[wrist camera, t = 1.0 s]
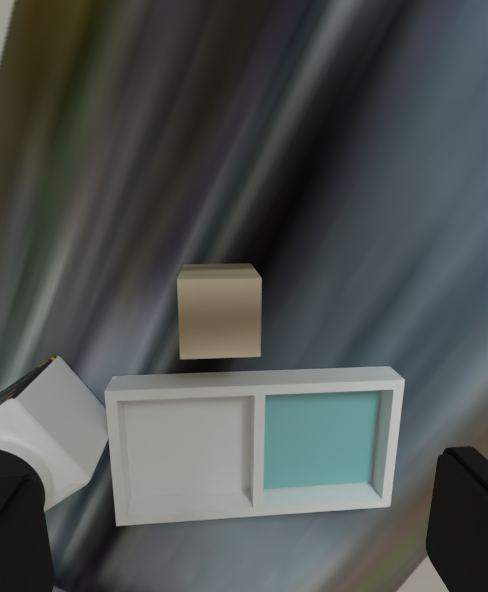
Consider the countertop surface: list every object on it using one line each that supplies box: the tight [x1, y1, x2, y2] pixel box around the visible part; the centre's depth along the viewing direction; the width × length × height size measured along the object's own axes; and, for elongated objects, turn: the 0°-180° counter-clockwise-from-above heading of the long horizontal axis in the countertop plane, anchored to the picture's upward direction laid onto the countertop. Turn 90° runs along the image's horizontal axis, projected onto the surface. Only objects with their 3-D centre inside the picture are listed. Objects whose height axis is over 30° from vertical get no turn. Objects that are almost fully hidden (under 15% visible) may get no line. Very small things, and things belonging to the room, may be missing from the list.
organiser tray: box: [104, 366, 405, 526], centre depth 30 cm, size 12×22×2 cm, turn 90°
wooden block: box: [177, 264, 262, 359], centre depth 25 cm, size 5×5×6 cm
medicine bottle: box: [0, 356, 108, 512], centre depth 23 cm, size 7×7×12 cm
